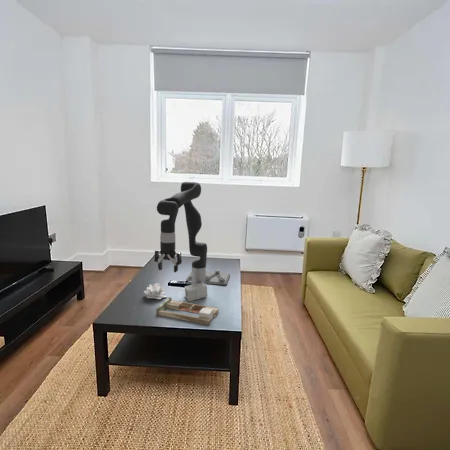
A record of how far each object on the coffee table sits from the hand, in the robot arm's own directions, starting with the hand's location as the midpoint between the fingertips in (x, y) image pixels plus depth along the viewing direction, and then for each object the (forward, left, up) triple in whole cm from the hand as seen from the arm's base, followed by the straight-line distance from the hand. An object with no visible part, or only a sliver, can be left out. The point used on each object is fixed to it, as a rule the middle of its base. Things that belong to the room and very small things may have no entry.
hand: (167, 270), depth 163 cm
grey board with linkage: (-69, -3, -30) cm, 75 cm away
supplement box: (-30, -3, -25) cm, 39 cm away
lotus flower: (-25, -22, -29) cm, 44 cm away
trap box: (-11, +5, -29) cm, 32 cm away
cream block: (-11, +17, -29) cm, 36 cm away
